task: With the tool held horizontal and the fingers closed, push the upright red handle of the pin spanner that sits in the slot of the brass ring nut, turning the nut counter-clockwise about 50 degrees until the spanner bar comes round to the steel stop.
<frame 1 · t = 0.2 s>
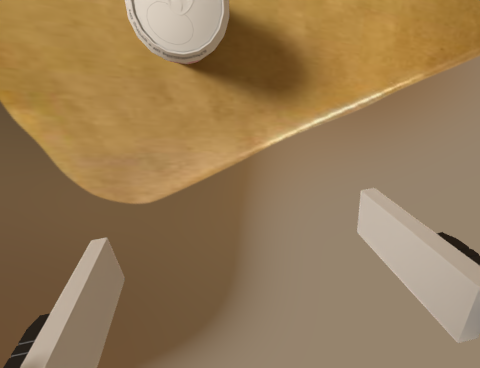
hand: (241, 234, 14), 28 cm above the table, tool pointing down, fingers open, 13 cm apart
supplement can: (183, 28, 34), on the table
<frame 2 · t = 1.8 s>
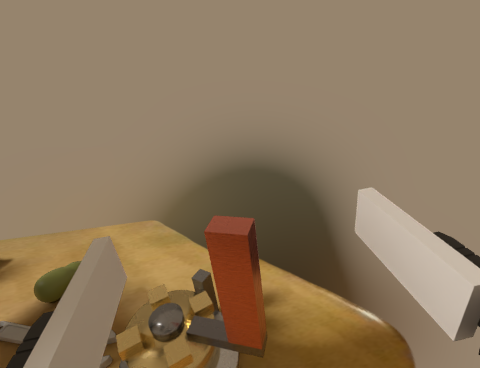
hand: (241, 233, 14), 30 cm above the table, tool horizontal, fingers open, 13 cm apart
spindle base: (180, 359, 39), on the table
pear: (69, 288, 55), on the table
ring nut: (183, 300, 32), point 13 cm above the table, hinge at 0.0°
adjustable wrench: (56, 340, 45), on the table
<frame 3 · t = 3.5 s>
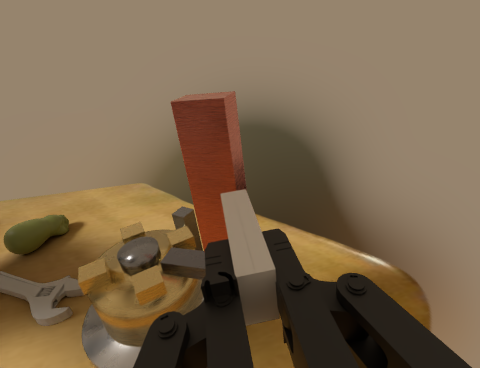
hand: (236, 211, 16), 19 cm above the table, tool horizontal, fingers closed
spindle base: (158, 305, 34), on the table
pear: (45, 242, 50), on the table
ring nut: (155, 222, 27), point 13 cm above the table, hinge at 0.0°
adjustable wrench: (24, 288, 40), on the table
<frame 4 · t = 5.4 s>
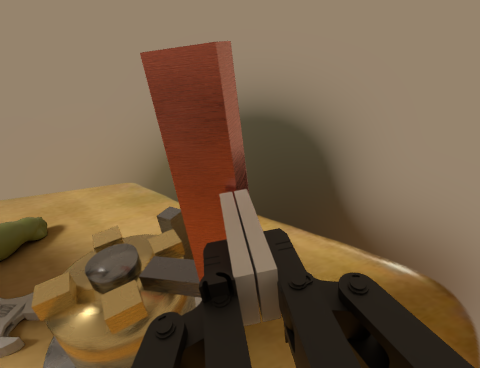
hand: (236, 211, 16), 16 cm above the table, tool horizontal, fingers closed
spindle base: (141, 326, 28), on the table
pear: (19, 248, 44), on the table
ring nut: (131, 226, 21), point 13 cm above the table, hinge at 1.7°, touching gripper
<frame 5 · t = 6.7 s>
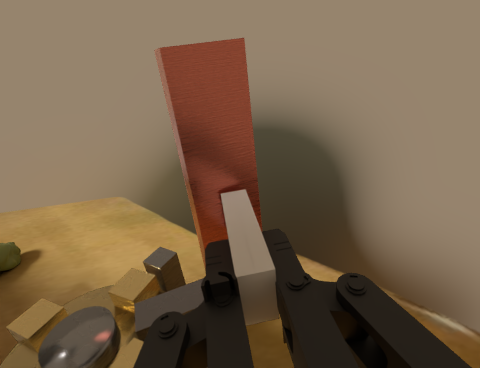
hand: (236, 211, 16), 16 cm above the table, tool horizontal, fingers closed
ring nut: (115, 272, 17), point 13 cm above the table, hinge at 36.4°, touching gripper
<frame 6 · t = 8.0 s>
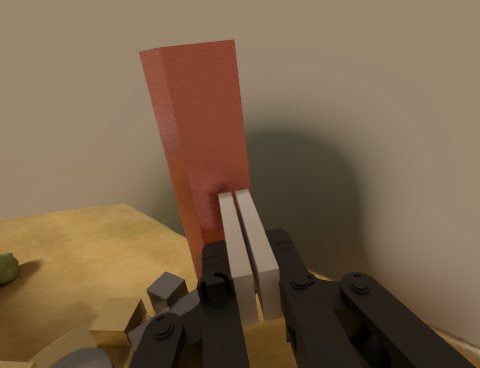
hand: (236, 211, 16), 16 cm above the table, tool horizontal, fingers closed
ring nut: (110, 300, 15), point 13 cm above the table, hinge at 54.6°, touching gripper
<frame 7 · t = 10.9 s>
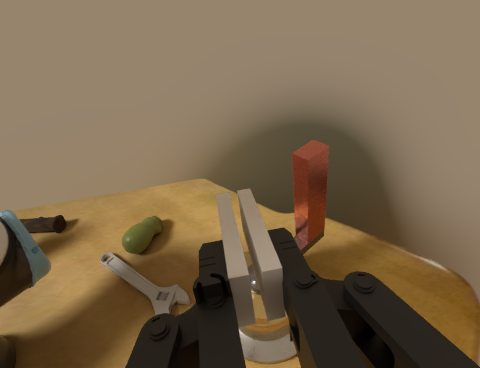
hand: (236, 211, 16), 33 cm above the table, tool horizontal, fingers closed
spindle base: (266, 305, 45), on the table
hand tool: (32, 233, 69), on the table
pear: (147, 240, 61), on the table
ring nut: (275, 243, 38), point 13 cm above the table, hinge at 54.7°
adjustable wrench: (145, 283, 52), on the table
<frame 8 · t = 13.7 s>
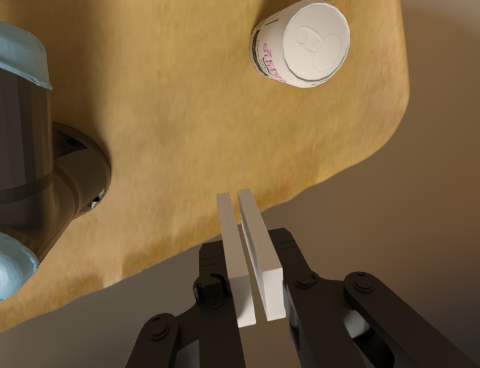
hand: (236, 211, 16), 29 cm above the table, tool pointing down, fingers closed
supplement can: (274, 48, 40), on the table
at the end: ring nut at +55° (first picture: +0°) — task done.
